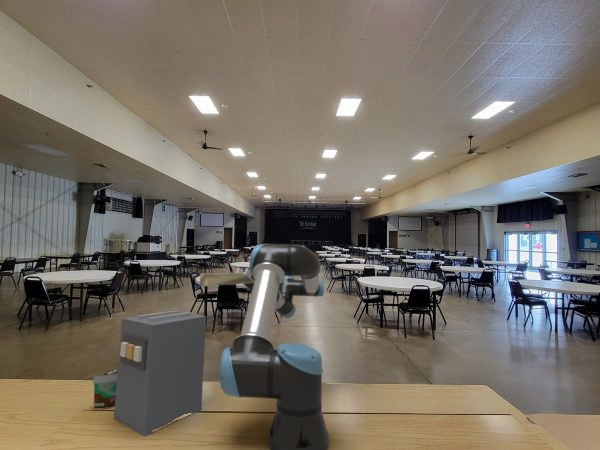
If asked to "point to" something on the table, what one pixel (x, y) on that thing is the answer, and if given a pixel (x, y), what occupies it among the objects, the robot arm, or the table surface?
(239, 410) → the table surface
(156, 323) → the cabinet
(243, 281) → the switch bar
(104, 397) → the food container
